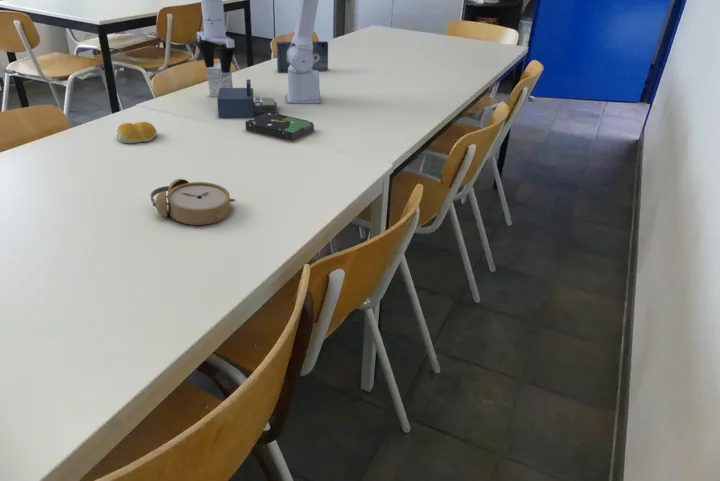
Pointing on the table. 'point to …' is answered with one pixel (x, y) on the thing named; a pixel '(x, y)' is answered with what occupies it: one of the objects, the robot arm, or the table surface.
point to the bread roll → (136, 132)
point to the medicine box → (218, 79)
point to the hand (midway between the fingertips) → (217, 69)
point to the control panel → (263, 109)
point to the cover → (236, 102)
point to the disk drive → (280, 126)
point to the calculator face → (264, 101)
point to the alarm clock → (193, 202)
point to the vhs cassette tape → (318, 54)
